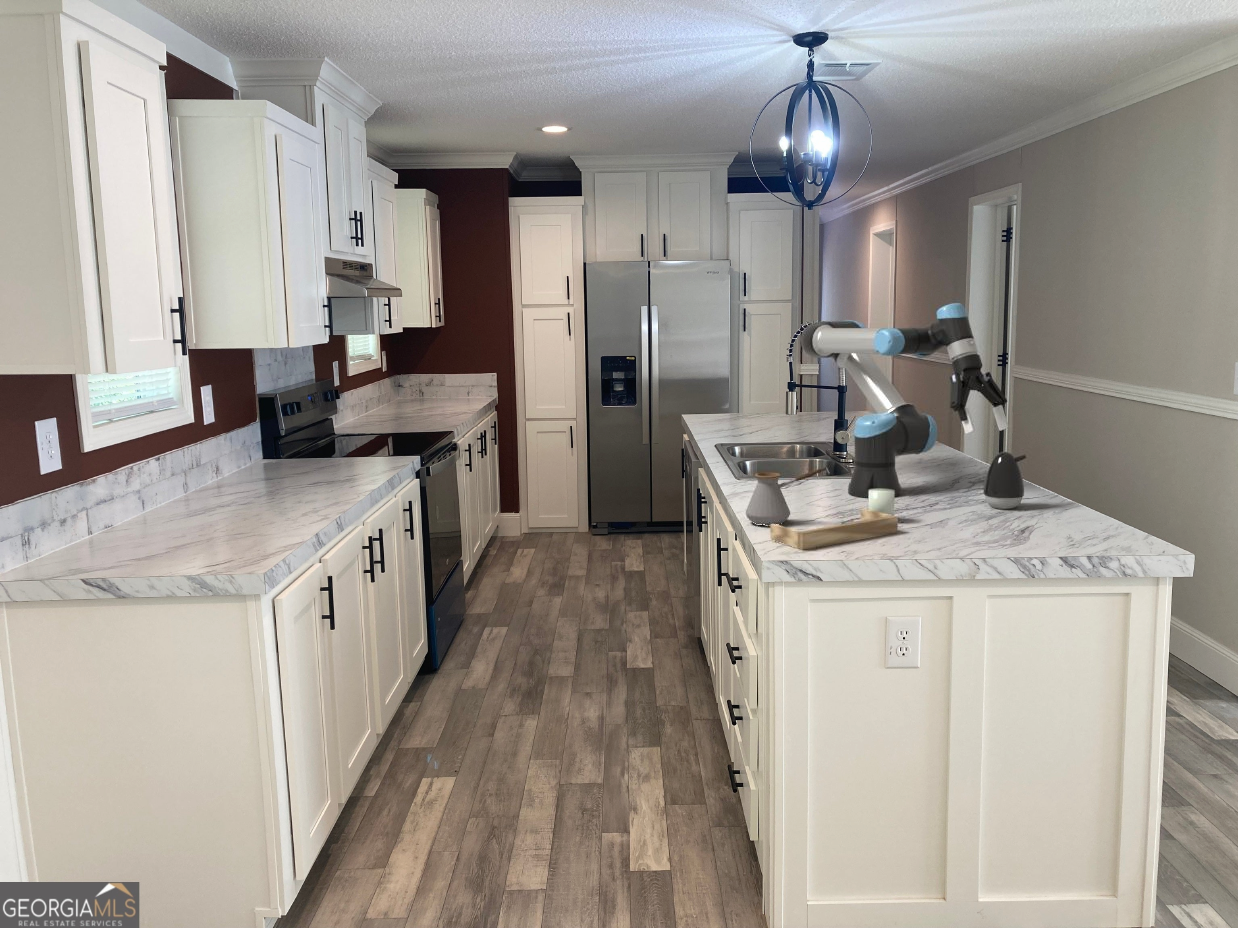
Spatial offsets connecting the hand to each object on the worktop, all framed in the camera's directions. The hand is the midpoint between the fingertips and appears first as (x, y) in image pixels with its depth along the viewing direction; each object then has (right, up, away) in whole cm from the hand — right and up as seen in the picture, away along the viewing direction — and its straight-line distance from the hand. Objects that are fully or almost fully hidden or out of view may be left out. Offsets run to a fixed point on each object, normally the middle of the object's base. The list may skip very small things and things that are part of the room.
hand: (987, 430), depth 253 cm
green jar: (-33, -24, -13) cm, 42 cm away
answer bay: (-48, -27, -28) cm, 62 cm away
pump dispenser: (+4, -21, -1) cm, 21 cm away
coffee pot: (-57, -25, -13) cm, 63 cm away
